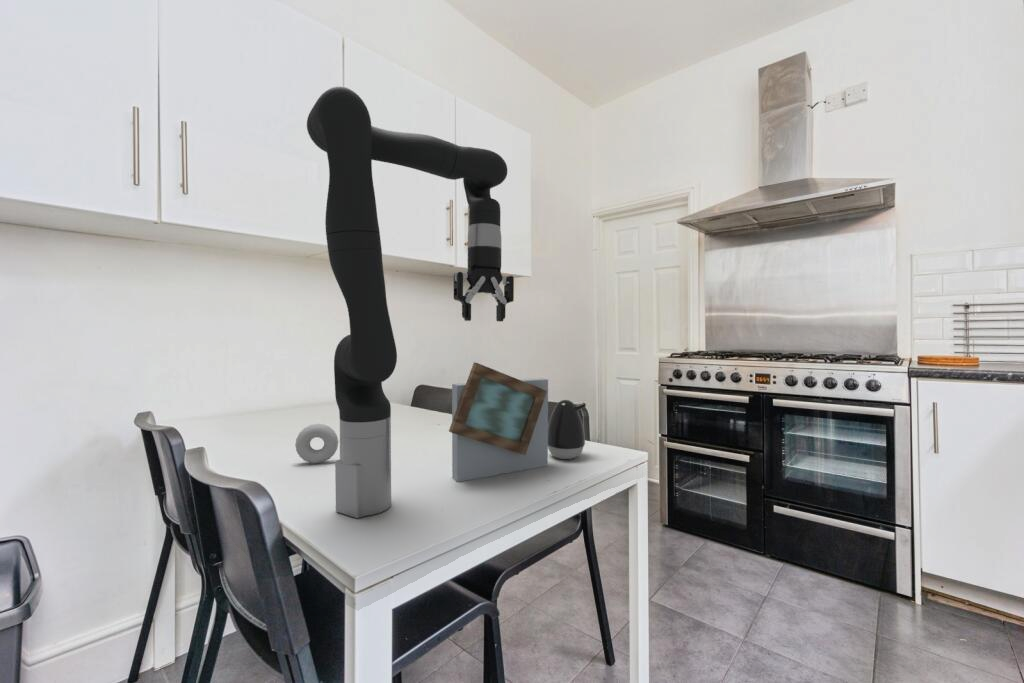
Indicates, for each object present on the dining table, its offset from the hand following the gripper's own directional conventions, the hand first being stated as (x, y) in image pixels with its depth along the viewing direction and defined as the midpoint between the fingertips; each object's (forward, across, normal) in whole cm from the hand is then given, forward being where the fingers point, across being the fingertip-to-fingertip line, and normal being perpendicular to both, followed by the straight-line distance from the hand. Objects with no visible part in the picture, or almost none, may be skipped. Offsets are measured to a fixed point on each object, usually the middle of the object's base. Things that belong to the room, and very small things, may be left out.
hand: (484, 320), depth 99 cm
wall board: (+36, +6, +3) cm, 36 cm away
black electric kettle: (+36, +27, +5) cm, 45 cm away
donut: (+36, -32, +30) cm, 57 cm away
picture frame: (+28, +1, 0) cm, 28 cm away
